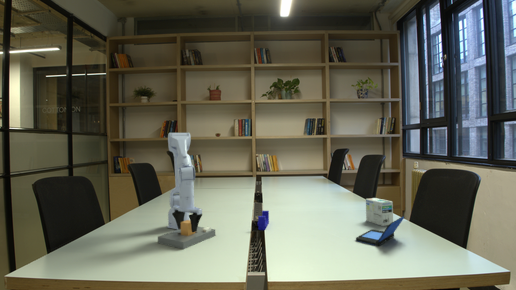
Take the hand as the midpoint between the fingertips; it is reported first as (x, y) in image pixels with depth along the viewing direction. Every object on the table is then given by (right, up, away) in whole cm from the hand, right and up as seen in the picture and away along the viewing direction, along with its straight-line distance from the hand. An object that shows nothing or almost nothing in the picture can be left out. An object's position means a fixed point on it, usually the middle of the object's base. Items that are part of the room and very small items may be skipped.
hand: (187, 230), depth 118 cm
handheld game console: (+76, -3, -5) cm, 76 cm away
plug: (0, -4, 0) cm, 4 cm away
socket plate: (0, -4, 0) cm, 4 cm away
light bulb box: (+86, -2, +19) cm, 88 cm away
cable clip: (+31, -3, +17) cm, 35 cm away
